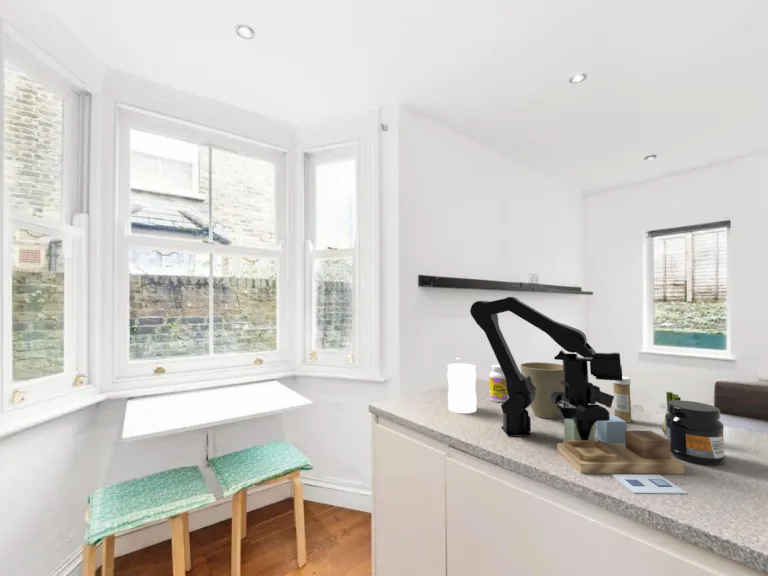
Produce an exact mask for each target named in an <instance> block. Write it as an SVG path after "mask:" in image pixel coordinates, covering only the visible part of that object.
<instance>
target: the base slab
mask: <svg viewBox="0 0 768 576" xmlns="http://www.w3.org/2000/svg"><path fill="white" fill-rule="evenodd" d="M556 445H557V446H556V448H557V449H556V450H557V452H558V454H560V455H561V456H562V457H563V458H564V459H565V460H566V461H567V462H569V463H570V465H572V466H573V467H574V468H575V469H576V470H577V471H578V472H579V473H580V474H667V475H668V474H670V475H671V474H678V475H679V474H686V465H685V463H683V462H682V461H680V460H678V459H677V458H676V457H675V458H674V457H673V456H672V454H671V451H670V440H668V439H666V437H664V436H662V435H660V434H658V433H656V432H654V431H653V430H627V431H625V443H604V442H602V441H601V440H595V439H594V440H566V441H565V440H563V441H562V443H561V442H557V444H556Z"/></svg>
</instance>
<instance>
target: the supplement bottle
mask: <svg viewBox="0 0 768 576" xmlns="http://www.w3.org/2000/svg"><path fill="white" fill-rule="evenodd" d="M491 370H492V371H491V372H489V384H488V385H489V386H488V387H489V389H488V390H489V392H488V393H489V400H490V401H492V402H496V403H504V402H505V401H506V400H507V399H509V396H508V393H507V388H506V379H505V376H504V374H503V371H502V369H501V367H500V365H499V364H492V365H491Z"/></svg>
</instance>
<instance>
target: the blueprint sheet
mask: <svg viewBox="0 0 768 576" xmlns="http://www.w3.org/2000/svg"><path fill="white" fill-rule="evenodd" d="M611 476H612V477H613V478H614V479H616V481H618V482H619V483H620V484H621V485H622V486H624V487H626V488H627V489H628V490H629V491H631V492H632V493H633V494H661V495H664V494H669V495H671V494H672V495H673V494H675V495H676V494H677V495H678V494H679V495H687V494H688V492H687V491H686V490H684V489H682V488H681V487H679V486H677V485H676V484H674V483H673V482H671V481H670V480H669V479H667V478H666V477H664V476H662V475H661V474H616V473H611Z"/></svg>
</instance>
